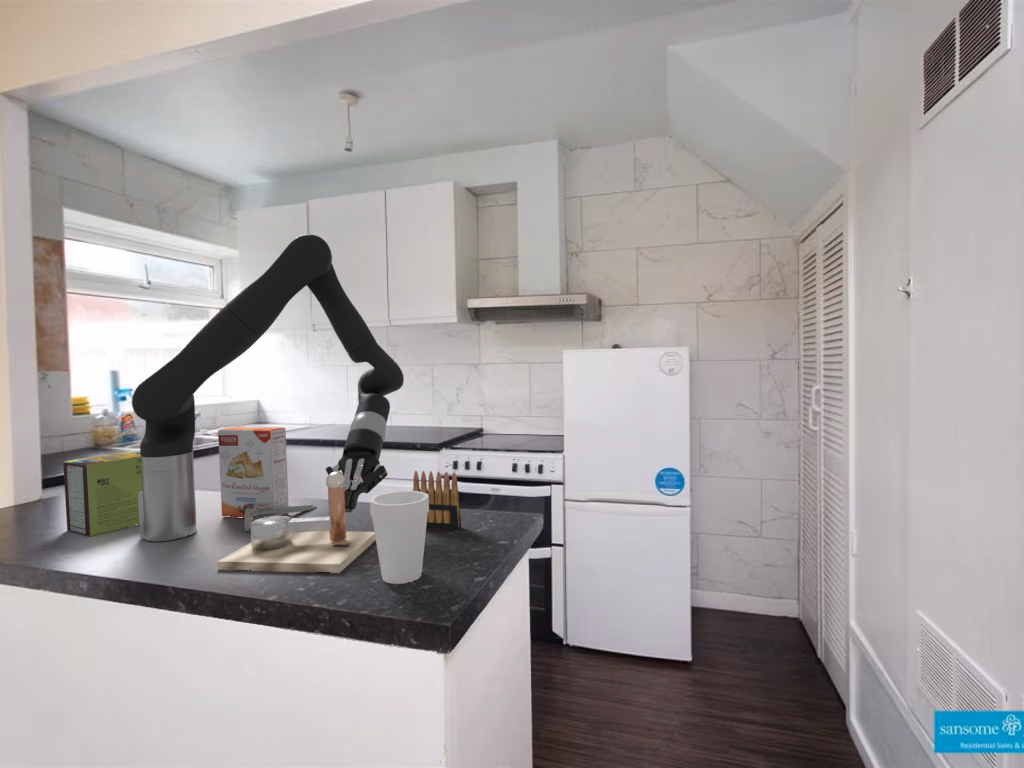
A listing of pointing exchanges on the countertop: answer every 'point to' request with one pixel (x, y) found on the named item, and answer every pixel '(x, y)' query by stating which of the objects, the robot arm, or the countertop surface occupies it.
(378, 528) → the foam cup
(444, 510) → the ammunition clip
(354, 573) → the countertop surface
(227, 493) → the cracker box
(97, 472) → the protein box
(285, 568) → the stand plate
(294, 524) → the lever
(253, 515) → the caliper
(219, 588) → the countertop surface
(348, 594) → the countertop surface
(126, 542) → the countertop surface
